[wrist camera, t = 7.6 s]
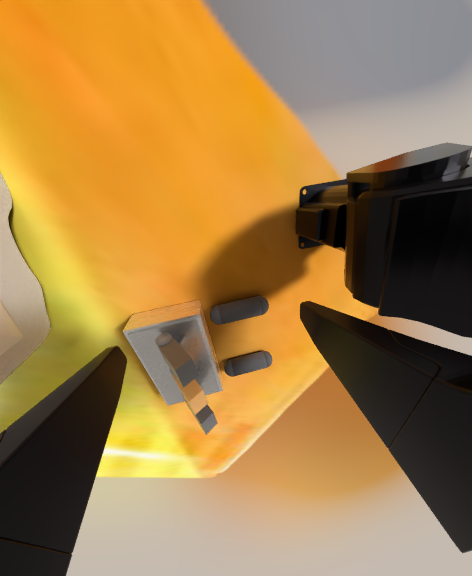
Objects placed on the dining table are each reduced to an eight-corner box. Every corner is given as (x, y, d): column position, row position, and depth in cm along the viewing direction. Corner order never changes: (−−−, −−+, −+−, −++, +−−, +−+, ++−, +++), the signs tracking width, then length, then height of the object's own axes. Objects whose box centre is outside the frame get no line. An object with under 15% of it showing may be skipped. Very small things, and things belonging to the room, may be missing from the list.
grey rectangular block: (167, 330, 19) (191, 356, 15) (175, 348, 20) (199, 376, 16) (152, 338, 18) (174, 369, 14) (162, 357, 19) (184, 389, 16)
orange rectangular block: (180, 358, 21) (202, 388, 17) (186, 373, 22) (208, 404, 18) (167, 367, 20) (187, 400, 16) (175, 382, 21) (195, 416, 18)
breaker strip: (199, 299, 21) (199, 315, 18) (220, 372, 28) (223, 392, 25) (132, 314, 20) (121, 333, 18) (170, 385, 27) (167, 407, 24)
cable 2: (268, 345, 27) (274, 358, 25) (269, 356, 28) (275, 369, 26) (222, 357, 26) (224, 371, 24) (224, 368, 28) (227, 381, 26)
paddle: (190, 381, 23) (212, 411, 19) (195, 393, 24) (217, 423, 21) (179, 390, 22) (200, 423, 19) (185, 402, 23) (206, 435, 20)
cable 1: (264, 290, 22) (271, 300, 20) (265, 306, 24) (271, 316, 21) (207, 303, 22) (208, 314, 20) (211, 318, 23) (212, 330, 21)
